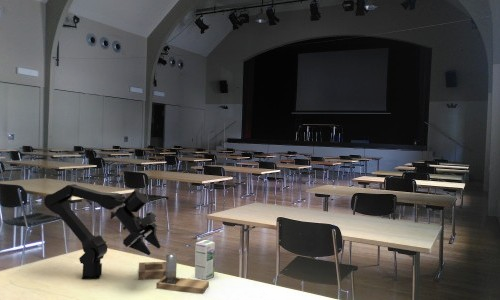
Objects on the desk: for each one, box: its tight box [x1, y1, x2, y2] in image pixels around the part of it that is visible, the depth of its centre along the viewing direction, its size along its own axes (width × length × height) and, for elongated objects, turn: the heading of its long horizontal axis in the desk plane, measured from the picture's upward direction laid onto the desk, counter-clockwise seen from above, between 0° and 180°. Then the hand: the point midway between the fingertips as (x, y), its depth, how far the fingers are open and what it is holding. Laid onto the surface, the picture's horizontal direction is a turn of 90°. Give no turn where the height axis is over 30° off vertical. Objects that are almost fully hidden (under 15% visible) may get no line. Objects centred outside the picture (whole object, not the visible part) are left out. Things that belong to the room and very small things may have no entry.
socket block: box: [137, 261, 166, 281], centre depth 172 cm, size 12×12×3 cm
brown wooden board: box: [155, 276, 210, 295], centre depth 159 cm, size 18×8×2 cm, turn 79°
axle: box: [165, 252, 178, 284], centre depth 160 cm, size 4×4×12 cm
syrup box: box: [194, 239, 216, 281], centre depth 171 cm, size 6×6×14 cm
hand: (154, 250), depth 161 cm, fingers open, 9 cm apart
